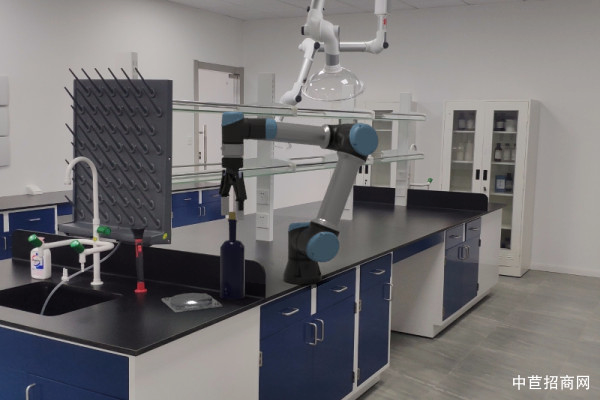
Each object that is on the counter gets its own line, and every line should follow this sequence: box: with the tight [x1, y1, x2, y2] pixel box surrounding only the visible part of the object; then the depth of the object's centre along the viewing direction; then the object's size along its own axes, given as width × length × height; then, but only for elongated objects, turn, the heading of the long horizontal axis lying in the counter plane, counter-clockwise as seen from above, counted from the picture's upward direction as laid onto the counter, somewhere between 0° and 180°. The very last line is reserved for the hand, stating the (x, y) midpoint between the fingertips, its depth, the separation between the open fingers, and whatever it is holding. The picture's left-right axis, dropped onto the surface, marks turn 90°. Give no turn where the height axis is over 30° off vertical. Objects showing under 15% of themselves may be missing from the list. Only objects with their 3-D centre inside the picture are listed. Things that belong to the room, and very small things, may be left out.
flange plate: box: [161, 292, 223, 313], centre depth 212 cm, size 16×16×2 cm
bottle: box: [219, 211, 246, 300], centre depth 221 cm, size 9×9×30 cm
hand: (232, 217), depth 219 cm, fingers open, 13 cm apart
